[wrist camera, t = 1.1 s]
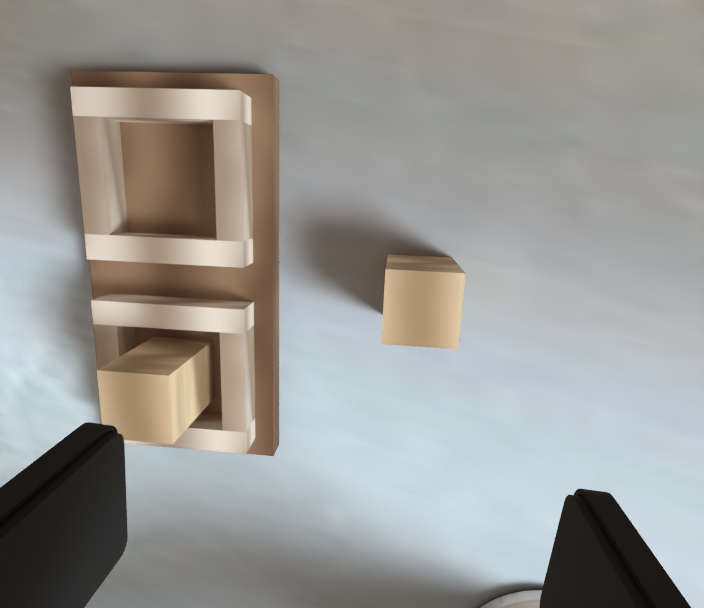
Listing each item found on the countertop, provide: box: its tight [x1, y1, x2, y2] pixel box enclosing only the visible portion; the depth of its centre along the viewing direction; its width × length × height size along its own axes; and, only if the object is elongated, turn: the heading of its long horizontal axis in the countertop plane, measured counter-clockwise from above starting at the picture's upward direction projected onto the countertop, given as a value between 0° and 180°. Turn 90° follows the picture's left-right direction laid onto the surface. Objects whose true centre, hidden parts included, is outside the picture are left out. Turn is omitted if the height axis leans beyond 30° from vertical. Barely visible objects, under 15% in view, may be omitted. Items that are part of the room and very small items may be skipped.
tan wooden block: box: [381, 254, 465, 349], centre depth 27 cm, size 4×4×6 cm
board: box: [70, 71, 279, 456], centre depth 27 cm, size 12×24×8 cm, turn 178°
